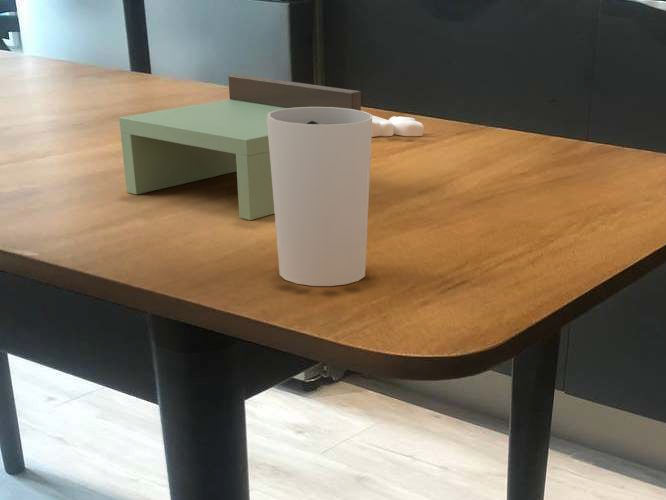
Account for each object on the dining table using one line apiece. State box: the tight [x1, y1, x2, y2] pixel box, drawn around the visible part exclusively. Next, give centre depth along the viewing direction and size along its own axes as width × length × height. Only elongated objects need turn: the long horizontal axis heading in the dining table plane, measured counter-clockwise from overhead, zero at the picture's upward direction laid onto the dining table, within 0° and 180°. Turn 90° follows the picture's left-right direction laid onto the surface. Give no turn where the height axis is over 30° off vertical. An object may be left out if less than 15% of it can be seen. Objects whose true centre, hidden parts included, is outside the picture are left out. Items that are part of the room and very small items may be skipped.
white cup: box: [267, 107, 373, 287], centre depth 70 cm, size 7×7×10 cm
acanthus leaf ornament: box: [372, 114, 425, 138], centre depth 117 cm, size 8×7×2 cm
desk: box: [118, 73, 362, 221], centre depth 90 cm, size 14×14×8 cm
